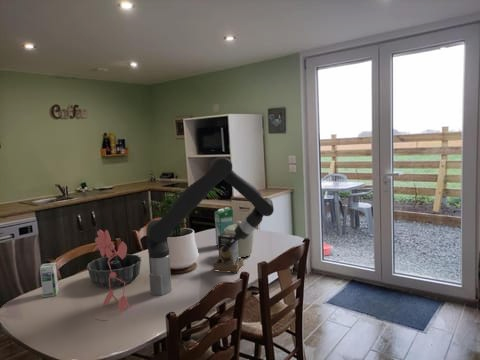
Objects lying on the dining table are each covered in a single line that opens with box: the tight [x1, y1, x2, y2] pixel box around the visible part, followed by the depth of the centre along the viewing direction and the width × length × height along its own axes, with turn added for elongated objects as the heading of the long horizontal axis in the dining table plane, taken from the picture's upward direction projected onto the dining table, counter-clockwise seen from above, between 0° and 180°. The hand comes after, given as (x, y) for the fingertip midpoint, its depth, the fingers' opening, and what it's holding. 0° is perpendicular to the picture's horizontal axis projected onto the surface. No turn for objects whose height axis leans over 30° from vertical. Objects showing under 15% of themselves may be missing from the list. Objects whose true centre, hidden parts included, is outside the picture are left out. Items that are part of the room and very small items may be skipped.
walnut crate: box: [213, 258, 244, 273], centre depth 194 cm, size 10×13×4 cm
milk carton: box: [214, 206, 234, 245], centre depth 234 cm, size 9×9×25 cm
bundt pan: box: [86, 253, 142, 288], centre depth 184 cm, size 26×26×10 cm
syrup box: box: [39, 262, 59, 298], centre depth 169 cm, size 6×6×14 cm
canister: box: [224, 220, 256, 258], centre depth 214 cm, size 18×18×21 cm
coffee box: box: [217, 233, 239, 264], centre depth 193 cm, size 9×6×16 cm
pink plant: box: [92, 229, 131, 322], centre depth 149 cm, size 15×26×35 cm, turn 51°
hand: (225, 248), depth 193 cm, fingers closed on coffee box, 7 cm apart
